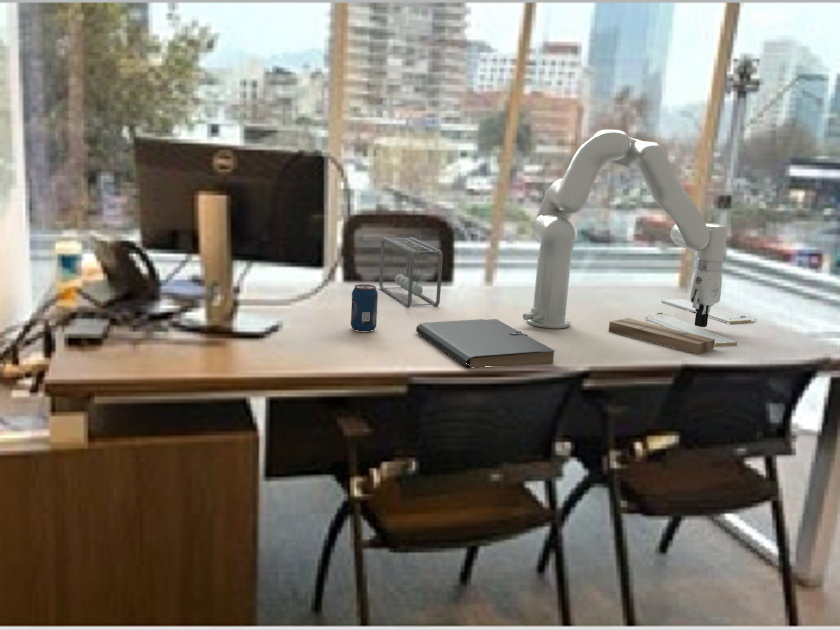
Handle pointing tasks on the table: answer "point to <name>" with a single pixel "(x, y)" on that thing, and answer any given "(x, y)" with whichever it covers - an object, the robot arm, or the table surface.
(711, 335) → the baseboard
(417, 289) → the newton's cradle
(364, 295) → the soda can
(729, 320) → the baseboard molding
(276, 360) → the table surface
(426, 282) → the table surface
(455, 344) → the dark grey book
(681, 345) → the plank row
